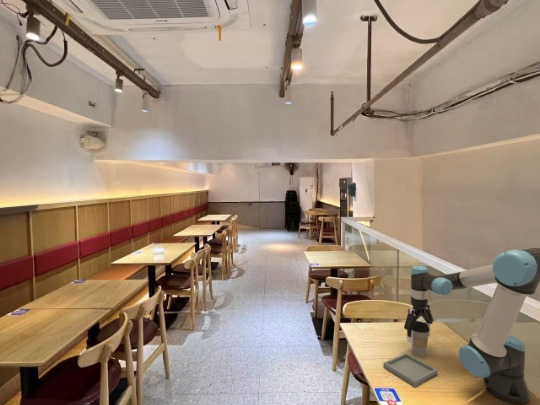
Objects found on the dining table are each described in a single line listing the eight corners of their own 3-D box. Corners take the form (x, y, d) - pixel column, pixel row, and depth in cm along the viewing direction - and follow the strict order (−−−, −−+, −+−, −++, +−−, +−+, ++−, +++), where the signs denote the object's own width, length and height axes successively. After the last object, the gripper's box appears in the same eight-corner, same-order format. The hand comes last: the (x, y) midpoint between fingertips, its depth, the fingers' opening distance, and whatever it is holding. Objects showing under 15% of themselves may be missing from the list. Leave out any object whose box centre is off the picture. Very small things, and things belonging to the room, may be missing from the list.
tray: (437, 375, 132) (437, 369, 132) (415, 387, 124) (415, 381, 124) (405, 357, 146) (405, 352, 146) (383, 367, 138) (383, 362, 138)
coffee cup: (432, 359, 144) (432, 329, 143) (411, 357, 146) (411, 327, 145) (426, 349, 153) (426, 320, 152) (406, 347, 155) (406, 319, 154)
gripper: (427, 290, 157) (426, 329, 158) (396, 299, 145) (396, 342, 146) (441, 294, 151) (440, 335, 152) (410, 305, 139) (409, 349, 140)
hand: (418, 339), depth 149 cm, fingers open, 13 cm apart
